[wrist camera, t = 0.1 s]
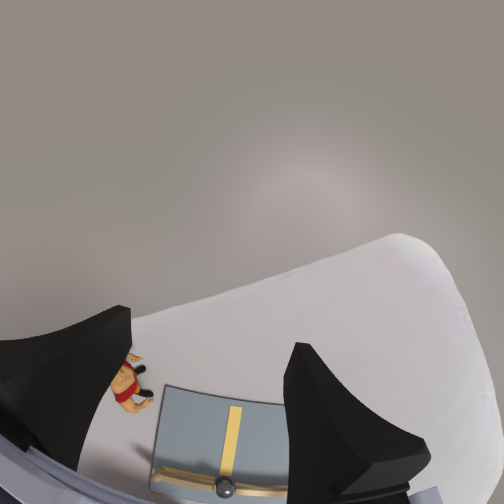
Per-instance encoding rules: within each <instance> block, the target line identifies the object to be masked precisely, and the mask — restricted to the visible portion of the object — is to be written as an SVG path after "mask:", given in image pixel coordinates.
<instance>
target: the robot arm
mask: <svg viewBox="0 0 504 504" xmlns="http://www.w3.org/2000/svg"><path fill="white" fill-rule="evenodd" d="M131 346H132V335H131V311H130V308H128V307H124V306H120V305H117V306H114V307H112V308H110V309H107V310H106V311H103V312H101V313H99V314H97V315H95V316H93V317H90V318H88V319H86V320H84V321H82V322H79V323H77V324H74V325H72V326H69V327H67V328H64V329H62V330H58V331H55V332H52V333H49V334H45V335H41V336H36V337H30V338H25V339H17V340H4V341H3V340H2V341H0V486H1V487H2V488H3V489H4V490H6V491H7V492H8V493H9V494H11V495H12V496H13V497H14V498H16V499H17V500H18V501H20V502H21V503H22V504H157V503H153V502H150V501H146V500H143V499H140V498H137V497H134V496H131V495H128V494H126V493H123V492H120V491H117V490H115V489H112V488H110V487H107V486H105V485H103V484H100V483H98V482H96V481H94V480H91V479H89V478H87V477H85V476H83V475H81V474H79V473H77V472H76V471H77V466H78V462H79V458H80V454H81V450H82V447H83V444H84V441H85V438H86V435H87V432H88V429H89V426H90V424H91V421H92V419H93V416H94V414H95V412H96V409H97V407H98V405H99V403H100V401H101V399H102V397H103V395H104V394H105V392H106V391H107V389H108V387H109V386H110V384H111V383H112V381H113V379H114V378H115V376H116V375H117V373H118V371H119V370H120V368H121V367H122V365H123V363H124V362H125V360H126V357H127V355H128V353H129V351H130V348H131ZM283 397H284V405H285V413H286V421H287V429H288V437H289V475H288V491H287V502H286V504H443V501H442V499H441V496H440V493H439V490H438V488H437V487H436V486H435V487H432V488H429V489H426V490H424V491H421V492H418V493H415V494H413V495H411V496H409V497H408V496H407V493H406V491H408V490H409V489H410V485H409V482H408V481H410V480H411V479H412V478H413V477H415V476H416V475H417V474H418V473H419V472H420V471H422V470H423V469H424V468H425V467H426V466H427V465H428V463H429V462H430V460H431V454H430V452H429V450H428V448H427V445H426V443H425V441H424V439H423V438H420V437H418V436H416V435H413V434H411V433H409V432H406V431H404V430H402V429H400V428H398V427H397V426H395V425H393V424H391V423H389V422H388V421H386V420H384V419H383V418H381V417H380V416H378V415H377V414H376V413H374V412H373V411H371V410H370V409H369V408H367V407H366V406H365V405H364V404H363V403H361V402H360V401H359V400H358V399H357V398H356V397H355V396H353V395H352V394H351V393H350V392H349V391H348V390H347V389H346V388H345V387H344V386H343V384H342V383H341V382H340V381H339V380H338V379H337V378H336V377H335V376H334V374H333V373H332V372H331V371H330V370H329V368H328V367H327V366H326V364H325V363H324V362H323V361H322V359H321V358H320V357H319V355H318V354H317V353H316V351H315V350H314V349H313V347H312V346H311V345H310V344H307V343H299V342H296V343H295V346H294V349H293V352H292V355H291V358H290V360H289V363H288V366H287V369H286V371H285V374H284V385H283Z"/></svg>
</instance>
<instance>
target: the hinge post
mask: <svg viewBox="0 0 504 504" xmlns="http://www.w3.org/2000/svg"><path fill="white" fill-rule="evenodd" d="M216 494H217V495H218V496H219V497H220V498H224V499H227V498H230V497H231V496H232V495H233V494H234V490H233V485H232V481H231V480H230V479H229V478H227V477H220V478H218V479H217V481H216Z"/></svg>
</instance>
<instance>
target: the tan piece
mask: <svg viewBox="0 0 504 504" xmlns="http://www.w3.org/2000/svg"><path fill="white" fill-rule="evenodd" d="M287 491H288V485H261V484H247V483H237V482H234V492H235V494H236V495H247V496H263V497H287Z"/></svg>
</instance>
